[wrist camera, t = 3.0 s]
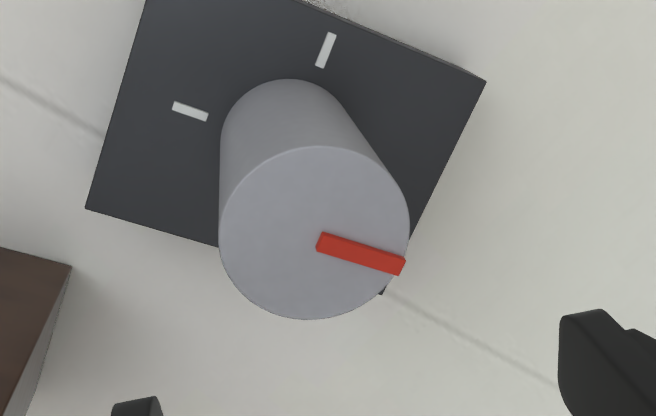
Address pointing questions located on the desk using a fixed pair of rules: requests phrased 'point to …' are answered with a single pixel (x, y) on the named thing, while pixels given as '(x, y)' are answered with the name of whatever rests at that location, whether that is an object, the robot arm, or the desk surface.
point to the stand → (26, 323)
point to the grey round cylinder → (305, 204)
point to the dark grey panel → (249, 72)
